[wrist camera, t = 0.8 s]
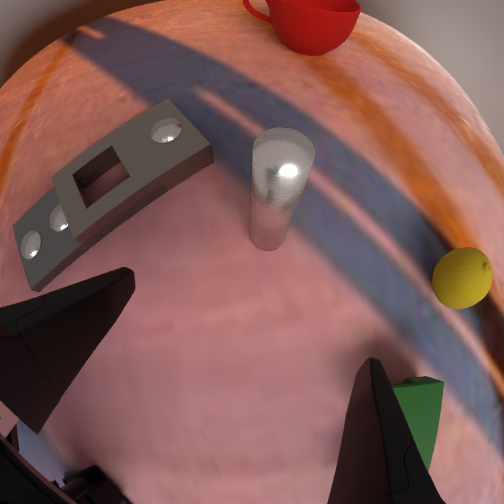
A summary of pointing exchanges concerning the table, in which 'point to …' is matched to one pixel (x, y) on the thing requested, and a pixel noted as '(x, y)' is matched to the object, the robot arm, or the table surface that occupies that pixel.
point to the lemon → (462, 278)
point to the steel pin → (277, 183)
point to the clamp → (421, 411)
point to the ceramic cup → (311, 23)
